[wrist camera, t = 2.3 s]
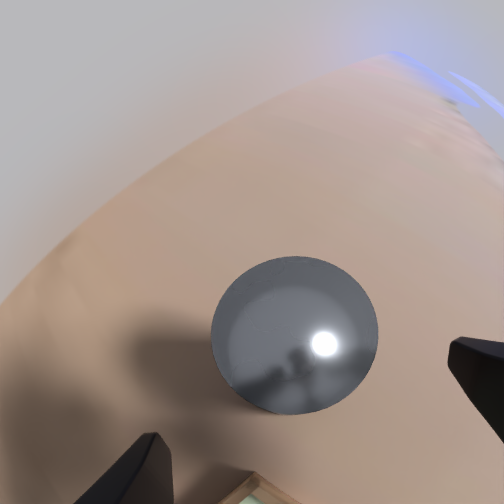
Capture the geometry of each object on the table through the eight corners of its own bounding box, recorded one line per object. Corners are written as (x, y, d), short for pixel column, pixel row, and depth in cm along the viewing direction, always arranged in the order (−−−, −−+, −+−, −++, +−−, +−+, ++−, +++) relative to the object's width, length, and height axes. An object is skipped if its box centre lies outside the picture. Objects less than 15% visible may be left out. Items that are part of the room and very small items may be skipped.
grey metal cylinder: (343, 370, 16) (405, 312, 8) (293, 430, 14) (307, 448, 6) (284, 326, 18) (283, 231, 10) (233, 381, 16) (178, 337, 8)
